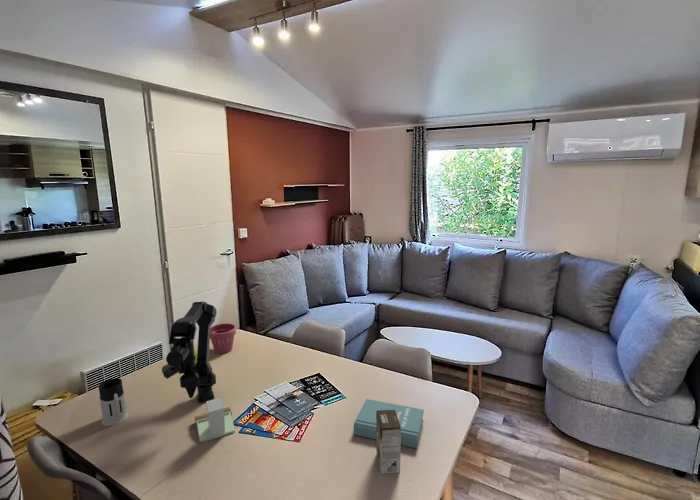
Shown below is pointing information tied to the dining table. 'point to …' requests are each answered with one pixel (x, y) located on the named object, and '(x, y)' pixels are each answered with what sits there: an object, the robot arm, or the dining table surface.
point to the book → (406, 415)
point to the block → (215, 417)
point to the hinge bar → (207, 417)
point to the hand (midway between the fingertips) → (190, 391)
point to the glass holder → (112, 402)
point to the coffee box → (388, 441)
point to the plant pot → (222, 337)
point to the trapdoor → (204, 429)
